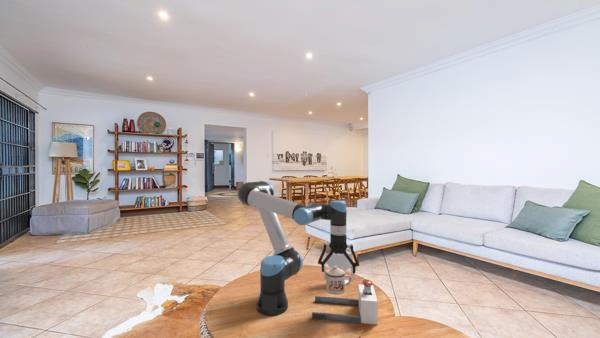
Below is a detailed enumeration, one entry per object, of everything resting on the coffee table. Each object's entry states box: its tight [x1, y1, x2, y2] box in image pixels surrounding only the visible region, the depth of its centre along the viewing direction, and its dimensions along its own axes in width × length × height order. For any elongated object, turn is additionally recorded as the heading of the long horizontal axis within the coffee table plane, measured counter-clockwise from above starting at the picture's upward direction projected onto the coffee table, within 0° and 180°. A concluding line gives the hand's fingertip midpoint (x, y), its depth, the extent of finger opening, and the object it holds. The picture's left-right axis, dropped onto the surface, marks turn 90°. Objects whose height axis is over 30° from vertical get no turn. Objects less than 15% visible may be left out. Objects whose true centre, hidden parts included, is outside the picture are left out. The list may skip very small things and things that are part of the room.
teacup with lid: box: [325, 266, 352, 296], centre depth 126 cm, size 12×9×12 cm
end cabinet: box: [357, 283, 379, 325], centre depth 125 cm, size 7×16×10 cm, turn 172°
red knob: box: [362, 279, 373, 295], centre depth 124 cm, size 4×4×7 cm
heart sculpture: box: [325, 251, 354, 284], centre depth 158 cm, size 16×5×18 cm, turn 101°
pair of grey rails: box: [311, 295, 362, 324], centre depth 127 cm, size 22×16×2 cm
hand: (338, 279), depth 126 cm, fingers closed on teacup with lid, 12 cm apart
